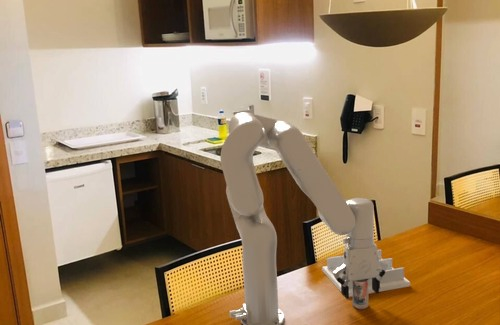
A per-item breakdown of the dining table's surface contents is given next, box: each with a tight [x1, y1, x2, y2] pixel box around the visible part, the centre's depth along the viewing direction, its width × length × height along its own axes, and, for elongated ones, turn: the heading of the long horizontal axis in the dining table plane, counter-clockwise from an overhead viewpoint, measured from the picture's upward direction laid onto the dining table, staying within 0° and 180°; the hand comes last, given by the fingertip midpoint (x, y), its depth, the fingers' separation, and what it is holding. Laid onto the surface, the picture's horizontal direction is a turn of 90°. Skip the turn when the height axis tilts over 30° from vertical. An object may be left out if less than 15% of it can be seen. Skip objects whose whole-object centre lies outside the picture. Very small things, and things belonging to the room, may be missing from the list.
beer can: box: [352, 279, 370, 310], centre depth 155 cm, size 5×5×12 cm
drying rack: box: [321, 249, 411, 298], centre depth 173 cm, size 22×20×6 cm
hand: (360, 293), depth 155 cm, fingers open, 9 cm apart
